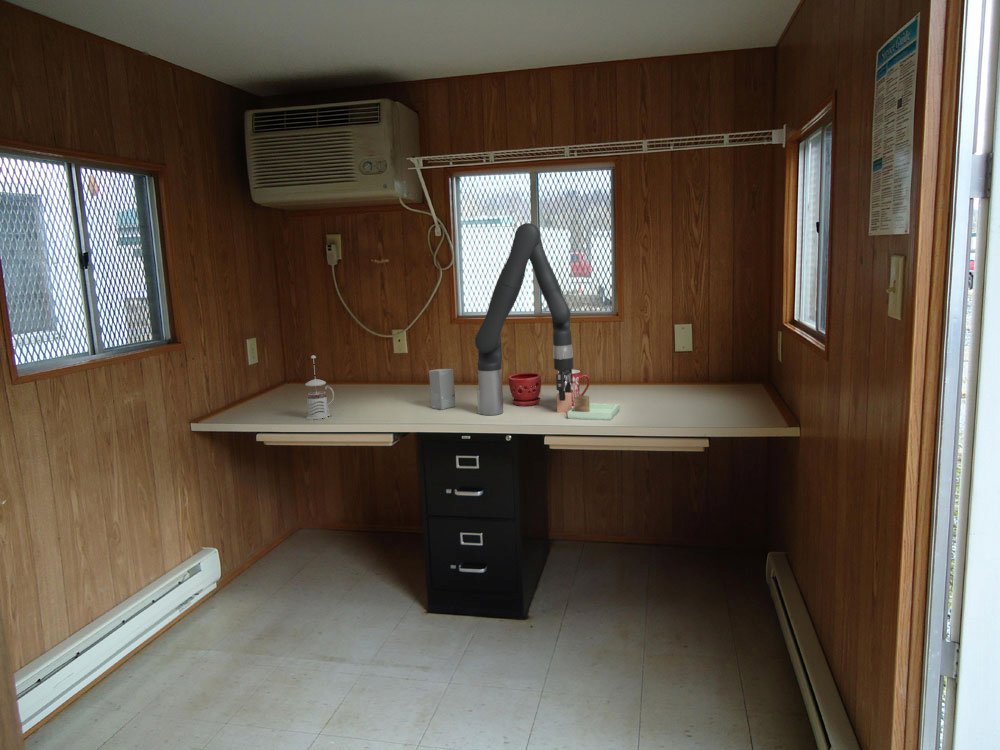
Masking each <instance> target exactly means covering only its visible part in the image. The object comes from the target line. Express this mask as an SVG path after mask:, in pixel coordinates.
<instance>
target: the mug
mask: <svg viewBox="0 0 1000 750" xmlns="http://www.w3.org/2000/svg"><path fill="white" fill-rule="evenodd" d="M557 374H559V371H557ZM583 378H586V379H587V383H586V384H587V385H586V386H585V388H584V390H583V391H582V393H581V394H580V383H581V381H582V379H583ZM572 380H573V383H572V385H571V399H572V407H574V406H575V404H574V398H575V397H576V396H577V395H582V396H585V394H586V393H587V390H588V389H589V387H590V382H591V381H590V377H589V376H588V375H587V374H581V371H580V370H578V369H572ZM560 387H561V386H560Z"/></svg>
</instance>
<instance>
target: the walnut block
mask: <svg viewBox="0 0 1000 750" xmlns="http://www.w3.org/2000/svg"><path fill="white" fill-rule="evenodd" d="M589 403H590V395H583V396H582V395H581V394H579V395H577V396H576V397H575V398H574V404H575V412H590V409H589Z"/></svg>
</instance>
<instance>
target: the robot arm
mask: <svg viewBox="0 0 1000 750" xmlns="http://www.w3.org/2000/svg"><path fill="white" fill-rule="evenodd" d="M543 246H544V245H543V241H542V238H541V230H540V229H539V228H538V226H537V225H536V224H533V223H529V222H526V223H522V224H520V225H519V226H518V227H517V229H516V230H515V232H514V238H513V242H512V246H511V249H510V253H509V255H508V257H507V260H506V261H505V264H504V265H503V268H502V270H501V272H500V274H499V276H498V279H497V281H496V283H495V287H494V288H493V291H492V295H491V298H490V301H489V305H488V308H487V312H486V314H485V317H484V319H483V321H482V323H481V325H480V327H479V330H478V331H477V334H475V338H474V344H475V347H476V349H477V351H478V354H477V355H478V356H477V357H478V358H477V359H478V360H477V379H478V381H477V382H478V389H477V390H476V396H477V397H476V398H477V401H476V402H477V414H478V415H484V416H495V415H496V416H497V415H501V414H503V413H504V395H503V393H504V392H503V390H504V389H503V373H502V361H503V353H502V352H503V350H502V346H503V345H502V337H501V332H502V330H503V326H504V323H505V321H506V319H507V318H508V316H509V314H510V312H511V311H512V309H513V307H514V306H515V304H516V301H517V299H518V296H519V294H520V291H521V289H522V285H523V282H524V278H525V274H526V270H527V265H528V263H529V261H530V263H531V266H532V269H533V272H534V275H535V278H536V282H537V284H538V287H539V289H540V290H541V293H542V295H543V298H544V299H545V302H546V304H547V307H548V310H549V311H550V315H551V322H552V330H553V331H552V345H553V348H552V354H553V355H552V356H553V358H552V360H553V369H554V370H556V371H558V372H559V374H558V373H557V374H556V375H555V382H556V384H555V386H556V390H557V391H558V394H559V400H560V401H564V400H565V393H571V385H572V383H573V380H572V370H574V364H575V363H574V349H573V343H572V341H573V339H572V338H573V337H572V332H571V310H570V308H569V306H568V304H567V301H566V299H565V297H564V295H563V292H562V289H561V287H560V284H559V282H558V279H557V277H556V275H555V272H554V271H553V269H552V266H551V264H550V262H549V259H548V257H547V255H546V252H545V250H544V247H543ZM560 386H561V387H560Z"/></svg>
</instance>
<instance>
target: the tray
mask: <svg viewBox="0 0 1000 750" xmlns="http://www.w3.org/2000/svg"><path fill="white" fill-rule="evenodd" d="M589 409H590V412H575V406H572V409H570V410H569V411H568V413H567V419H568V420H590V421H592V420H593V421H594V420H595V421H612V420H613V419H614V418H615V416H617V414H618V413H619V412H620V403H595V402H594V403H591V402H589Z"/></svg>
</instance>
